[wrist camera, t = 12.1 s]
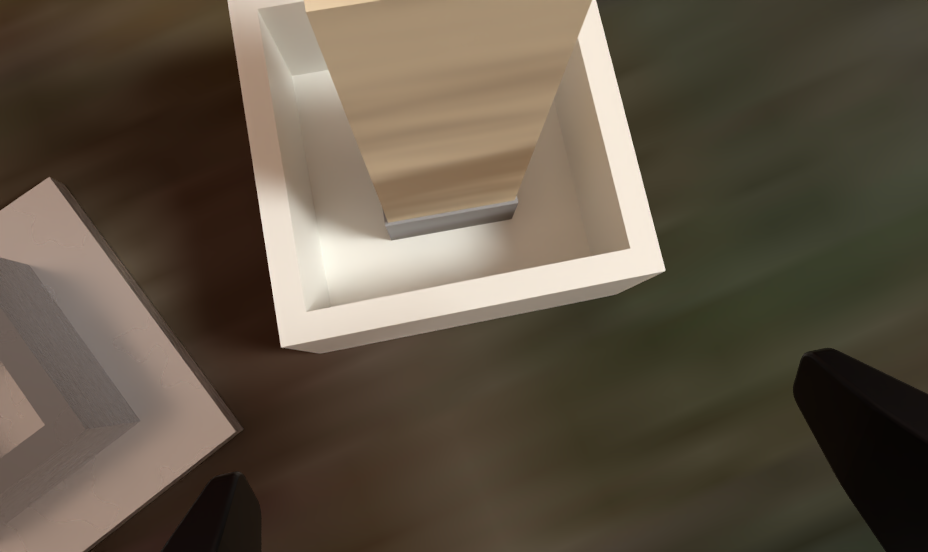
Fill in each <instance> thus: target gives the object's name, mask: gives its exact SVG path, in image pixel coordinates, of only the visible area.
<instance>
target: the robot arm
mask: <svg viewBox="0 0 928 552" xmlns="http://www.w3.org/2000/svg"><path fill="white" fill-rule="evenodd" d="M793 394H794V398H795V401H796V403H797V405H798V407H799V409H800V410H801V412H802V414H803V416H804V418H805V420H806V422H807V423H808V425H809V427H810V429H811V431H812V433H813V435H814V436H815V438H816V440H817V442H818V444H819V446H820V448H821V449H822V451H823V453H824V455H825V457H826V459H827V461H828V462H829V464H830V466H831V468H832V470H833V472H834V473H835V475H836V477H837V479H838V480H839V482H840V484H841V486H842V487H843V489H844V490H845V492H846V493H847V495H848V496H849V498H850V499H851V501H852V502H853V504H854V505H855V507H856V508H857V510H858V511H859V513H860V514H861V516H862V517H863V519H864V520H865V522H866V523H867V525H868V526H869V527H870V529H871V530H872V532H873V533H874V535H875V536H876V538H877V539H878V541H879V542H880V544H881V545H882V547H883V548H884V550H885V551H886V552H928V394H927V393H925V392H923V391H921V390H919V389H916V388H914V387H912V386H910V385H908V384H906V383H904V382H902V381H900V380H898V379H896V378H894V377H892V376H889V375H887V374H885V373H883V372H881V371H879V370H877V369H875V368H873V367H871V366H869V365H867V364H865V363H863V362H860V361H858V360H856V359H854V358H852V357H850V356H848V355H846V354H844V353H842V352H840V351H838V350H835V349H832V348H823V349H819V350H814V351H809V352H806V353H805V354H804V355H803V356H802V358H801V361H800V364H799V368H798V371H797V375H796V378H795V382H794V385H793ZM161 552H261V509H260V505H259V502H258V500H257V498H256V496H255V494H254V492H253V491H252V489H251V487H250V485H249V483H248V481H247V480H246V478H245V476H244V475H243V474H242V473H241V472H231V473H226V474H222V475H217V476H215V477H213V478H212V479H211V480H210V481H209V482H208V484H207V485H206V487H205V488H204V489H203V491H202V492H201V494H200V495H199V497H198V498H197V500H196V501H195V502H194V504H193V505H192V507H191V508H190V510H189V511H188V513H187V514H186V515H185V517H184V518H183V520H182V521H181V523H180V524H179V526H178V527H177V528H176V530H175V531H174V533H173V534H172V536H171V537H170V539H169V540H168V541H167V543H166V544H165V546H164V547H163V549H162V550H161Z"/></svg>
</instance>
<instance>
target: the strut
mask: <svg viewBox="0 0 928 552" xmlns="http://www.w3.org/2000/svg"><path fill="white" fill-rule="evenodd" d="M591 2H592V0H304V4H305V10H306V14H307V16H308V19H309V22H310V24H311V27H312V29H313V32H314V34H315V37H316V39H317V42H318V45H319V47H320V50H321V52H322V55H323V57H324V60H325V62H326V65H327V68H328V70H329V73H330V75H331V78H332V80H333V83H334V85H335V88H336V91H337V93H338V96H339V98H340V101H341V103H342V106H343V109H344V111H345V114H346V116H347V119H348V121H349V124H350V126H351V129H352V132H353V134H354V137H355V139H356V142H357V144H358V147H359V149H360V152H361V155H362V157H363V160H364V162H365V165H366V167H367V170H368V172H369V175H370V178H371V180H372V183H373V185H374V188H375V190H376V193H377V195H378V198H379V201H380V203H381V206H382V209H383V215H384V221H385V226H386V229H387V231H388V234H389V236H390V238H391V241H392V240H398V239H403V238H409V237H415V236H420V235H426V234H431V233H437V232H443V231H448V230H454V229H459V228H465V227H470V226H476V225H482V224H487V223H493V222H498V221H504V220H510V219H512V217H513V215H514V212H515V210H516V208H517V205H518V198H517V193H518V191H519V188H520V185H521V183H522V180H523V178H524V175H525V172H526V170H527V167H528V165H529V162H530V159H531V157H532V154H533V152H534V149H535V147H536V144H537V141H538V139H539V136H540V134H541V131H542V128H543V126H544V123H545V121H546V118H547V116H548V113H549V110H550V108H551V105H552V103H553V100H554V97H555V95H556V92H557V90H558V87H559V85H560V82H561V79H562V77H563V74H564V72H565V69H566V66H567V64H568V61H569V59H570V56H571V54H572V51H573V48H574V46H575V43H576V41H577V38H578V35H579V33H580V30H581V28H582V25H583V23H584V20H585V17H586V15H587V12H588V10H589V7H590V4H591Z"/></svg>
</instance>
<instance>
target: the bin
mask: <svg viewBox="0 0 928 552" xmlns="http://www.w3.org/2000/svg"><path fill="white" fill-rule="evenodd" d="M228 6H229V13H230V19H231V26H232V32H233V39H234V45H235V52H236V58H237V65H238V71H239V78H240V84H241V91H242V97H243V104H244V110H245V117H246V123H247V130H248V136H249V143H250V149H251V156H252V162H253V169H254V175H255V182H256V188H257V195H258V201H259V208H260V214H261V221H262V227H263V234H264V240H265V247H266V253H267V260H268V266H269V273H270V279H271V286H272V292H273V299H274V305H275V312H276V318H277V325H278V331H279V338H280V344H281V347H282V348H288V349H294V350H300V351H306V352H313V353H319V354H321V353H326V352H331V351H336V350H341V349H346V348H351V347H356V346H361V345H366V344H371V343H376V342H381V341H386V340H391V339H396V338H401V337H406V336H411V335H416V334H421V333H426V332H431V331H436V330H441V329H446V328H451V327H456V326H461V325H466V324H471V323H476V322H481V321H486V320H491V319H496V318H501V317H506V316H511V315H516V314H521V313H526V312H531V311H536V310H541V309H546V308H551V307H556V306H561V305H566V304H571V303H576V302H581V301H586V300H591V299H596V298H601V297H606V296H611V295H616V294H618V293H620V292H622V291H624V290H626V289H629V288H631V287H633V286H635V285H637V284H639V283H641V282H643V281H645V280H648V279H650V278H652V277H654V276H656V275H658V274H660V273H662V272H664V271H665V267H664V263H663V259H662V256H661V252H660V248H659V244H658V240H657V236H656V232H655V228H654V224H653V221H652V217H651V213H650V209H649V205H648V201H647V197H646V193H645V189H644V186H643V182H642V178H641V174H640V170H639V166H638V162H637V158H636V155H635V151H634V147H633V143H632V139H631V135H630V131H629V127H628V123H627V120H626V116H625V112H624V108H623V104H622V100H621V96H620V92H619V88H618V85H617V81H616V77H615V73H614V69H613V65H612V61H611V57H610V53H609V50H608V46H607V42H606V38H605V34H604V30H603V26H602V22H601V18H600V15H599V11H598V7H597V3H596V0H592V2H591V4H590V7H589V10H588V12H587V15H586V17H585V20H584V23H583V25H582V28H581V30H580V33H579V35H578V38H577V41H576V43H575V46H574V48H573V51H572V54H571V56H570V59H569V61H568V64H567V66H566V69H565V72H564V74H563V77H562V79H561V82H560V85H559V87H558V90H557V92H556V95H555V97H554V100H553V103H552V105H551V108H550V110H549V113H548V116H547V118H546V121H545V123H544V126H543V128H542V131H541V134H540V136H539V139H538V141H537V144H536V147H535V149H534V152H533V154H532V157H531V159H530V162H529V165H528V167H527V170H526V172H525V175H524V178H523V180H522V183H521V185H520V188H519V191H518V193H517V198H518V205H517V208H516V210H515V212H514V215H513V217H512V219H510V220H504V221H498V222H493V223H487V224H482V225H476V226H470V227H465V228H459V229H454V230H448V231H443V232H437V233H431V234H426V235H420V236H415V237H409V238H403V239H398V240H392V241H391V238H390V236H389V234H388V231H387V229H386V226H385V221H384V215H383V209H382V206H381V203H380V201H379V198H378V195H377V193H376V190H375V188H374V185H373V183H372V180H371V178H370V175H369V172H368V170H367V167H366V165H365V162H364V160H363V157H362V155H361V152H360V149H359V147H358V144H357V142H356V139H355V137H354V134H353V132H352V129H351V126H350V124H349V121H348V119H347V116H346V114H345V111H344V109H343V106H342V103H341V101H340V98H339V96H338V93H337V91H336V88H335V85H334V83H333V80H332V78H331V75H330V73H329V70H328V68H327V65H326V62H325V60H324V57H323V55H322V52H321V50H320V47H319V45H318V42H317V39H316V37H315V34H314V32H313V29H312V27H311V24H310V22H309V19H308V16H307V14H306V10H305V4H304V0H228Z"/></svg>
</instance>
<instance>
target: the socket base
mask: <svg viewBox="0 0 928 552" xmlns="http://www.w3.org/2000/svg"><path fill="white" fill-rule="evenodd" d="M243 430H244V429H243V427H242V426H241V424H240V423H239V422H238V420H237V419H236V418H235V416H234V415H233V414H232V412H231V411H230V409H229V408H228V407H227V405H226V404H225V403H224V401H223V400H222V399H221V397H220V396H219V394H218V393H217V392H216V390H215V389H214V388H213V386H212V385H211V384H210V382H209V381H208V380H207V378H206V377H205V375H204V374H203V373H202V371H201V370H200V369H199V367H198V366H197V365H196V363H195V362H194V360H193V359H192V358H191V356H190V355H189V354H188V352H187V351H186V350H185V348H184V347H183V345H182V344H181V343H180V341H179V340H178V339H177V337H176V336H175V335H174V333H173V332H172V331H171V329H170V328H169V326H168V325H167V324H166V322H165V321H164V320H163V318H162V317H161V316H160V314H159V313H158V311H157V310H156V309H155V307H154V306H153V305H152V303H151V302H150V301H149V299H148V298H147V296H146V295H145V294H144V292H143V291H142V290H141V288H140V287H139V286H138V284H137V283H136V282H135V280H134V279H133V277H132V276H131V275H130V273H129V272H128V271H127V269H126V268H125V267H124V265H123V264H122V262H121V261H120V260H119V258H118V257H117V256H116V254H115V253H114V252H113V250H112V249H111V247H110V246H109V245H108V243H107V242H106V241H105V239H104V238H103V237H102V235H101V234H100V233H99V231H98V230H97V228H96V227H95V226H94V224H93V223H92V222H91V220H90V219H89V218H88V216H87V215H86V213H85V212H84V211H83V209H82V208H81V207H80V205H79V204H78V203H77V201H76V200H75V198H74V197H73V196H72V194H71V193H70V192H69V190H68V189H67V188H66V186H65V185H64V184H63V183H61V182H59V181H57V180H55V179H53V178H51V177H48V178H47V179H45V180H44V181H43V182H41V183H40V184H38V185H37V186H35V187H34V188H32V189H31V190H30V191H28V192H27V193H25V194H24V195H22V196H21V197H19V198H18V199H16V200H15V201H14V202H12V203H11V204H9V205H8V206H6V207H5V208H3V209H2V210H1V211H0V552H88V551H90V550H91V549H92V548H94V547H95V546H96V545H97V544H99V543H100V542H101V541H102V540H104V539H105V538H106V537H108V536H109V535H110V534H111V533H113V532H114V531H115V530H116V529H118V528H119V527H120V526H122V525H123V524H124V523H125V522H127V521H128V520H129V519H130V518H132V517H133V516H134V515H136V514H137V513H138V512H139V511H141V510H142V509H143V508H144V507H146V506H147V505H148V504H150V503H151V502H152V501H153V500H155V499H156V498H157V497H158V496H160V495H161V494H162V493H164V492H165V491H166V490H167V489H169V488H170V487H171V486H172V485H174V484H175V483H176V482H178V481H179V480H180V479H181V478H183V477H184V476H185V475H186V474H188V473H189V472H190V471H192V470H193V469H194V468H195V467H197V466H198V465H199V464H201V463H202V462H203V461H204V460H206V459H207V458H208V457H209V456H211V455H212V454H213V453H215V452H216V451H217V450H218V449H220V448H221V447H222V446H223V445H225V444H226V443H227V442H229V441H230V440H231V439H232V438H234V437H235V436H236V435H237V434H239V433H240V432H241V431H243Z"/></svg>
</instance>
